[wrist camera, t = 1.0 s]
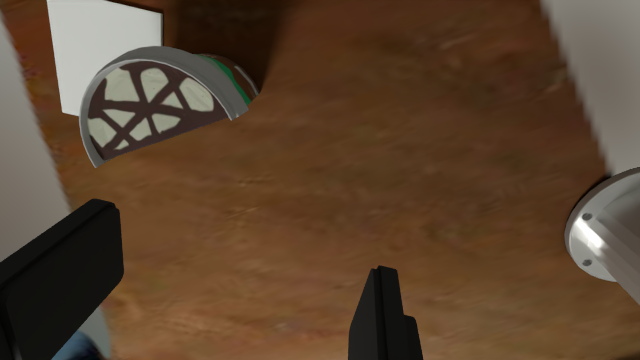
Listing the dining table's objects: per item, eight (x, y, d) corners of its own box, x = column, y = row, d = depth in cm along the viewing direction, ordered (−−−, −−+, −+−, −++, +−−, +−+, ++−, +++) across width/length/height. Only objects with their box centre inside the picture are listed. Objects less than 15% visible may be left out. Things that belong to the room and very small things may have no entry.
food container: (246, 15, 28) (193, 16, 19) (274, 87, 31) (239, 117, 22) (127, 66, 31) (33, 87, 22) (161, 128, 34) (89, 169, 25)
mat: (162, 13, 29) (160, 13, 29) (162, 134, 34) (161, 135, 33) (47, -14, 29) (45, -14, 29) (64, 111, 34) (62, 112, 34)
